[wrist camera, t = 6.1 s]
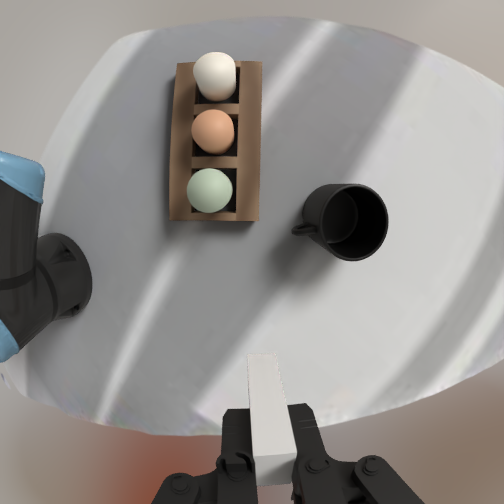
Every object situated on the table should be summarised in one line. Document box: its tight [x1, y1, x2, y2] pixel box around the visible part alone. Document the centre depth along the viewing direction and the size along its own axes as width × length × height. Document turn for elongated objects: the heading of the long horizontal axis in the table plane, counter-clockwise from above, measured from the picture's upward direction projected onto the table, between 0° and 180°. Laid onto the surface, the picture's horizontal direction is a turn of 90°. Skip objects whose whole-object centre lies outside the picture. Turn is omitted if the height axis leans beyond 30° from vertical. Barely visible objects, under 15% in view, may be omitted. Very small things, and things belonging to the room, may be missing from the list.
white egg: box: [193, 52, 236, 102], centre depth 29 cm, size 5×5×6 cm
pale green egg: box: [187, 168, 233, 213], centre depth 32 cm, size 5×5×6 cm
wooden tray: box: [169, 61, 262, 221], centre depth 35 cm, size 12×23×3 cm, turn 179°
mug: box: [292, 184, 388, 261], centre depth 35 cm, size 9×12×9 cm
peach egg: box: [191, 110, 234, 155], centre depth 32 cm, size 5×5×6 cm
